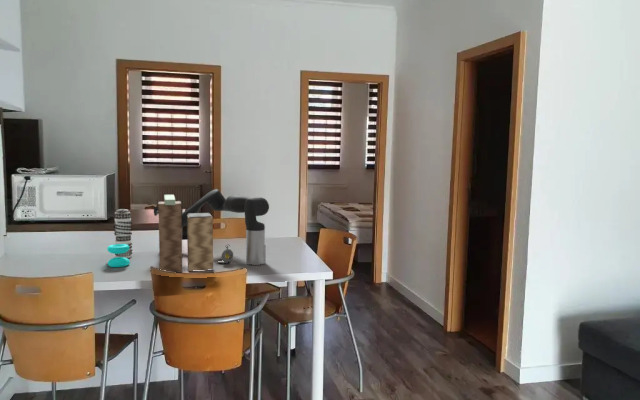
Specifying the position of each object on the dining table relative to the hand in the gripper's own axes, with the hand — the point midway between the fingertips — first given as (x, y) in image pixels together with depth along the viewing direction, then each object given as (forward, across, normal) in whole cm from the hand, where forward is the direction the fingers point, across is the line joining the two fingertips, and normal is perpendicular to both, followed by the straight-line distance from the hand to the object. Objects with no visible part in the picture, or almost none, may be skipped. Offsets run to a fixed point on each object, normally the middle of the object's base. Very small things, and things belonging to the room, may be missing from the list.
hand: (168, 205), depth 252 cm
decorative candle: (-28, +22, -17) cm, 40 cm away
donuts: (-10, +24, -27) cm, 37 cm away
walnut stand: (+3, -1, -35) cm, 35 cm away
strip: (+17, 0, -6) cm, 18 cm away
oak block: (+4, -14, -35) cm, 38 cm away
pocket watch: (-4, -26, -31) cm, 41 cm away
